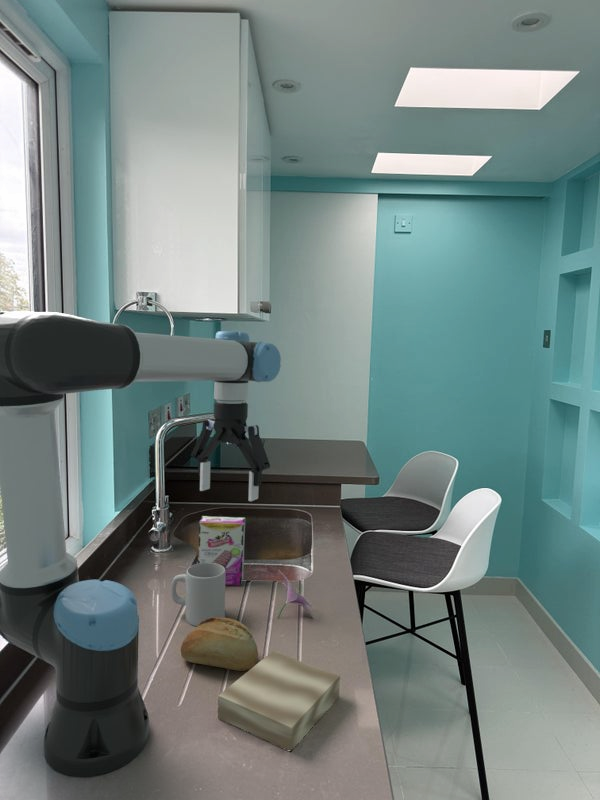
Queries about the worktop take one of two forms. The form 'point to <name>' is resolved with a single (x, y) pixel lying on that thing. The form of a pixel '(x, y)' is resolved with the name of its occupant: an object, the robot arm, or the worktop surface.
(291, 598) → the lily
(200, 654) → the bread roll
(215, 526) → the candy bar box
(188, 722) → the worktop surface
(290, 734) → the wooden base
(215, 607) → the mug
